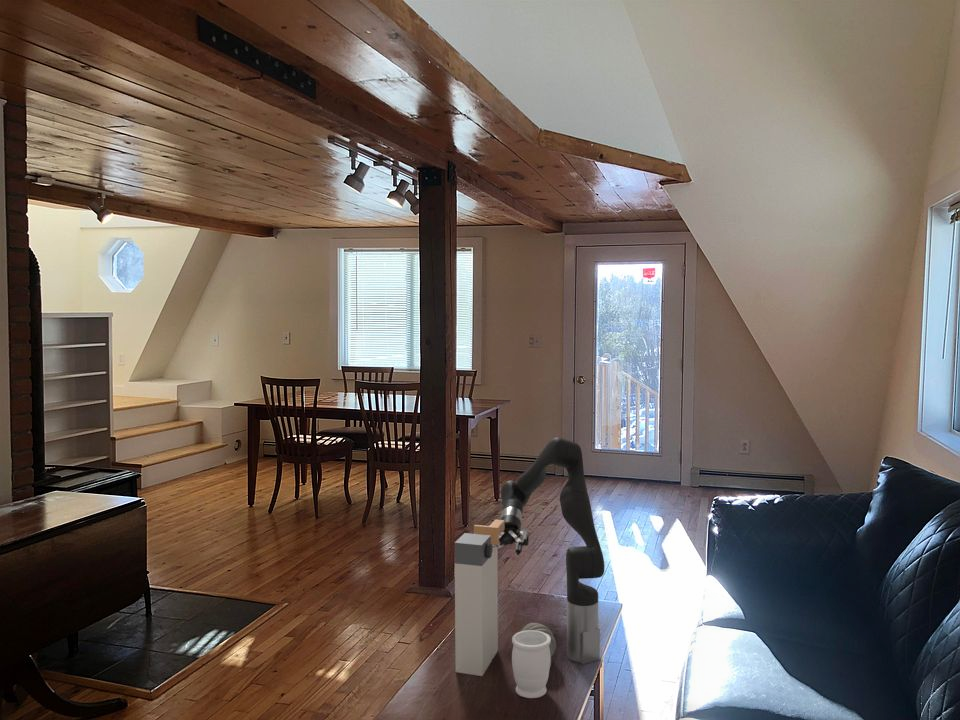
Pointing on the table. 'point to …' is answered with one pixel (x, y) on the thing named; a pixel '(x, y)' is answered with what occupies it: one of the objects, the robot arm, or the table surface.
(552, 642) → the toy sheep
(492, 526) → the tan piece
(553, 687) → the table surface
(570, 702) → the table surface
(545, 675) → the jar
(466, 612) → the pedestal
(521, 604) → the table surface
